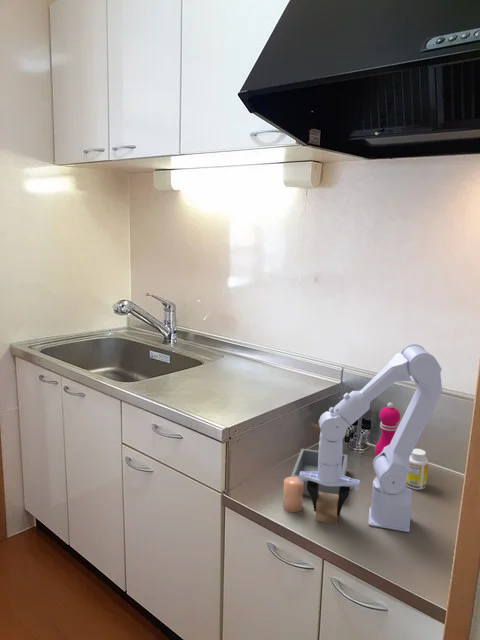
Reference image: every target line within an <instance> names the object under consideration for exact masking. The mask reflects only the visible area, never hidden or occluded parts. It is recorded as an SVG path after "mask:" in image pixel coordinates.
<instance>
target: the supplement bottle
mask: <svg viewBox="0 0 480 640" xmlns="http://www.w3.org/2000/svg"><path fill="white" fill-rule="evenodd" d="M426 454H427V452H426V451H425V450H424V449H421V448H414V449H413V451H412V453H411V456H410V459H409V472H408V474H407V484H406V487H408V488H409V489H410V488H411V490H417V491H418V490H419V491H421V490H424V489H425V488H426V486H427V481H428V480H427V479H428V466H429V459H428V458H427V457H426Z"/></svg>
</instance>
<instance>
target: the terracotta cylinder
mask: <svg viewBox="0 0 480 640" xmlns="http://www.w3.org/2000/svg"><path fill="white" fill-rule="evenodd" d="M303 485H304V482H299V478H298V477H291V476H287V477H285V478H284V480H283V493H282V494H283V496H282V497H283V498H282V499H283V501H282V507H283V509H284V510H286V511H287V512H291V513H292V512H293V513H296V512H297V513H298V512H300V511H302V510H303V503H304V495H303Z"/></svg>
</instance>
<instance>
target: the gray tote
mask: <svg viewBox="0 0 480 640" xmlns="http://www.w3.org/2000/svg"><path fill="white" fill-rule="evenodd" d="M318 454H319V450H314V449H307V448H306V449H305V448H301V449H300V452H299V454H298V457H297V460H296V462H295V464H294V467H293V470H292V472H291V475H290V477H298V478H299V474H300V471H304V472H318ZM347 468H348V454H343V453H342V470H341V475H343V476H346V475H347V470H348V469H347ZM307 483H308V482H306V481H304V485H303V496H307V497H311V496H310V494H309V492H308V490H307ZM339 488H340V487H338V486H325V485H322V484H319V488H318V494H319V492H325V493H331V494H337V495H339Z"/></svg>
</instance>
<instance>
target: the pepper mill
mask: <svg viewBox="0 0 480 640" xmlns="http://www.w3.org/2000/svg"><path fill="white" fill-rule="evenodd" d="M378 414H379V415H378V417H379V420H380V424H379V427H380V429H381V433H380V437H379V439H378V441H377V442H376V444H375V447H374V454H375V457H376V456H378V455H379V454H380V453H381V452H382V451H383V449H384V447H386V446H388V445H389V444H390V443H391V441H392V439H393V436H394V434H395V432H396V430H397V428H398V426H399V424H398V423H399V422H400V421H401V413H400V411H399V410H398V409H397V408H395V407H394V403H392V402H388V403H387V406H384V407H382V408H381V409H380V411H379V413H378Z"/></svg>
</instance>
